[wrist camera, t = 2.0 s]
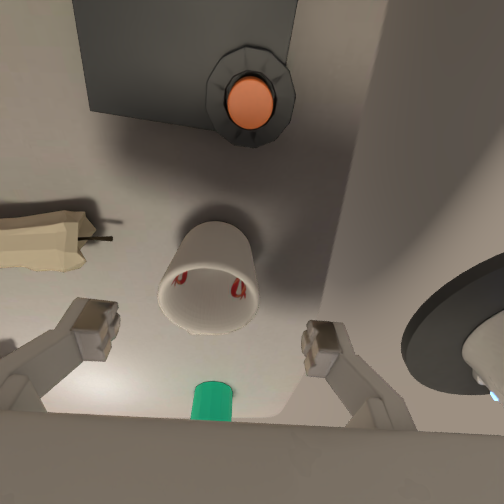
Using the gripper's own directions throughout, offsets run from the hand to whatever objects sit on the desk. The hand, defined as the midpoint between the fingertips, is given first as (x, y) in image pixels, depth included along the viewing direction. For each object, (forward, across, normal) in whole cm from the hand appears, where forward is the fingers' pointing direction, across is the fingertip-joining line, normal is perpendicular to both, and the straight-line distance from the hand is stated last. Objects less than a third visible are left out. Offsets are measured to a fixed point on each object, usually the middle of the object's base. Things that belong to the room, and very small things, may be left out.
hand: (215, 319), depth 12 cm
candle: (+15, -2, +35) cm, 39 cm away
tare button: (+13, -1, -7) cm, 14 cm away
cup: (+15, +1, +8) cm, 18 cm away
